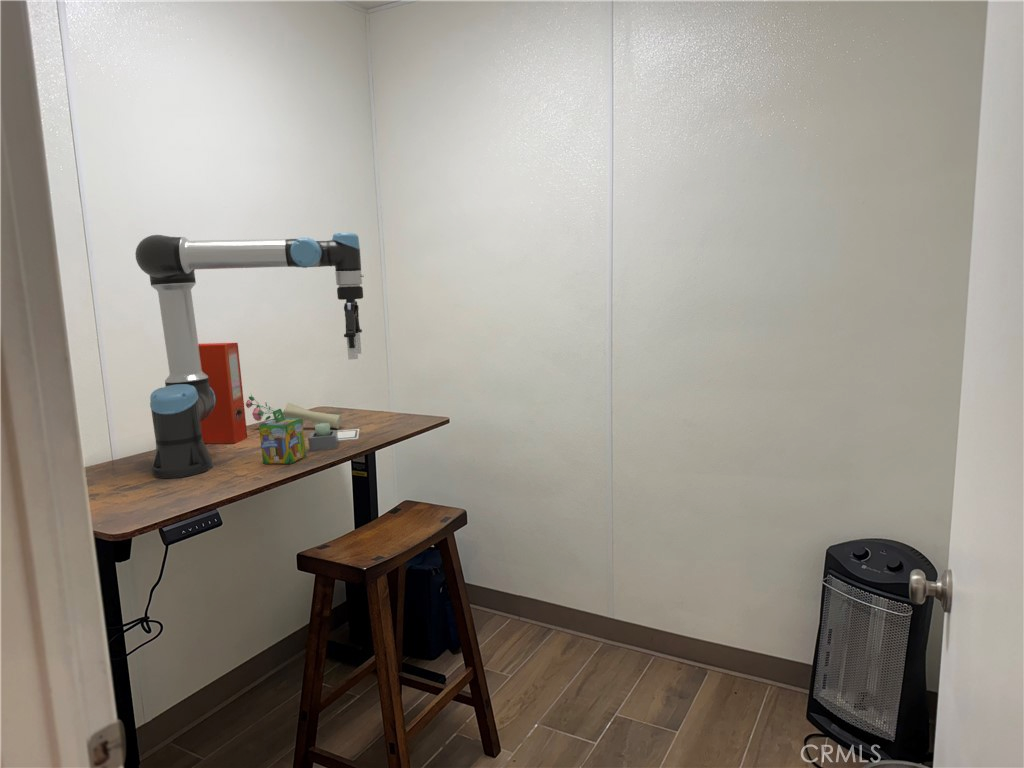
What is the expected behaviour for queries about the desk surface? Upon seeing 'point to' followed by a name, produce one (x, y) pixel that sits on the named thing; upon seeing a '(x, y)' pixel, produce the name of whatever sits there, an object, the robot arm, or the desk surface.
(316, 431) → the button
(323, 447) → the button housing
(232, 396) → the file binder
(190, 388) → the robot arm
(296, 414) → the flower vase
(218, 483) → the desk surface
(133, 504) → the desk surface
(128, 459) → the desk surface
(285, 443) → the chalk box
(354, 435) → the white bordered panel
